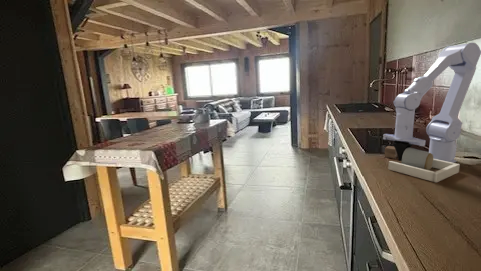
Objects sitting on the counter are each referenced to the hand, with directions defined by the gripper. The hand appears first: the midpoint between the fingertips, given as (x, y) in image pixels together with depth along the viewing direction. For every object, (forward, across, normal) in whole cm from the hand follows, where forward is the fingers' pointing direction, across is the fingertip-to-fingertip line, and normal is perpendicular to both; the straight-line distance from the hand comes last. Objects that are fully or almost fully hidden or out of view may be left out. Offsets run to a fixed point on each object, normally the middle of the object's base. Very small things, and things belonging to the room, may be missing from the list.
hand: (401, 160), depth 101 cm
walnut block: (+2, -9, +8) cm, 12 cm away
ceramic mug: (+2, +5, +1) cm, 6 cm away
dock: (+2, +7, 0) cm, 8 cm away
